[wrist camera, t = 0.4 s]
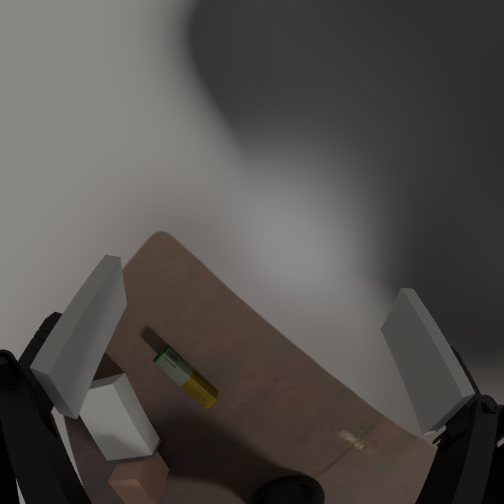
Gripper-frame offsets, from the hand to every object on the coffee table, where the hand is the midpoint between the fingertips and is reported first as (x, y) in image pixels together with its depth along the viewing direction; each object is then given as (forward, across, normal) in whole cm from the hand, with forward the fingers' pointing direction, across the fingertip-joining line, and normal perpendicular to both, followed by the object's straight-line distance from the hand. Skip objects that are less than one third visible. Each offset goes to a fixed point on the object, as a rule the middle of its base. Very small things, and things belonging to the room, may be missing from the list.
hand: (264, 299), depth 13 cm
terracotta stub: (+8, +14, +51) cm, 53 cm away
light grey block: (+14, +19, +42) cm, 49 cm away
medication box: (+20, +7, +34) cm, 40 cm away
